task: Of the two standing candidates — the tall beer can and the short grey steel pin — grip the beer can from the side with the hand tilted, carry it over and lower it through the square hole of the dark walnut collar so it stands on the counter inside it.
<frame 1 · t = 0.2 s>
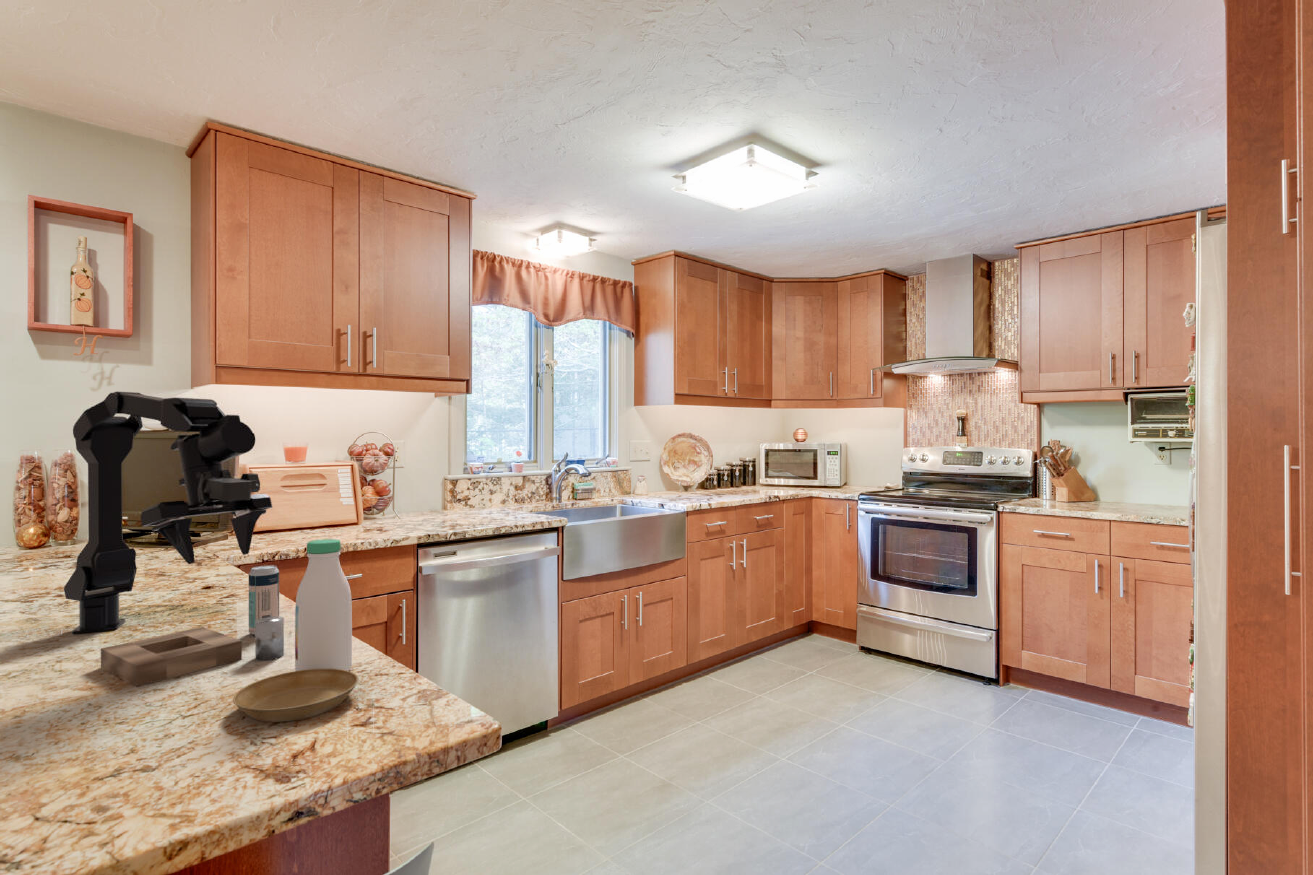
hand: (219, 558, 111), 15 cm above the counter, tool tilted 15°, fingers open, 9 cm apart
walnut collar: (172, 663, 104), on the counter
beer can: (264, 634, 121), on the counter
plant saucer: (298, 707, 88), on the counter
short steel pin: (269, 656, 108), on the counter
milk bottle: (324, 673, 100), on the counter
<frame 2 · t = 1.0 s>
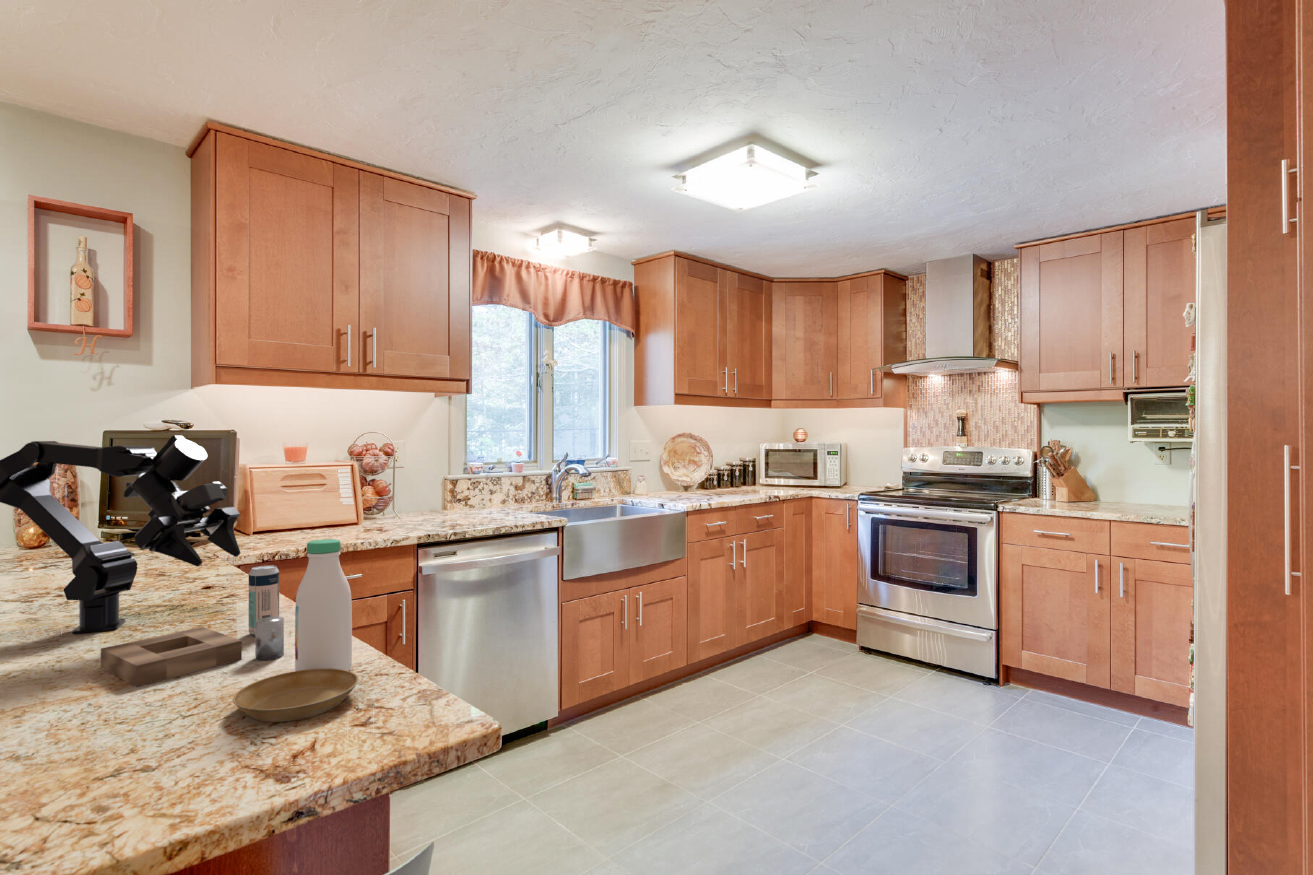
hand: (219, 559, 121), 13 cm above the counter, tool tilted 45°, fingers open, 9 cm apart
nothing on the counter moved.
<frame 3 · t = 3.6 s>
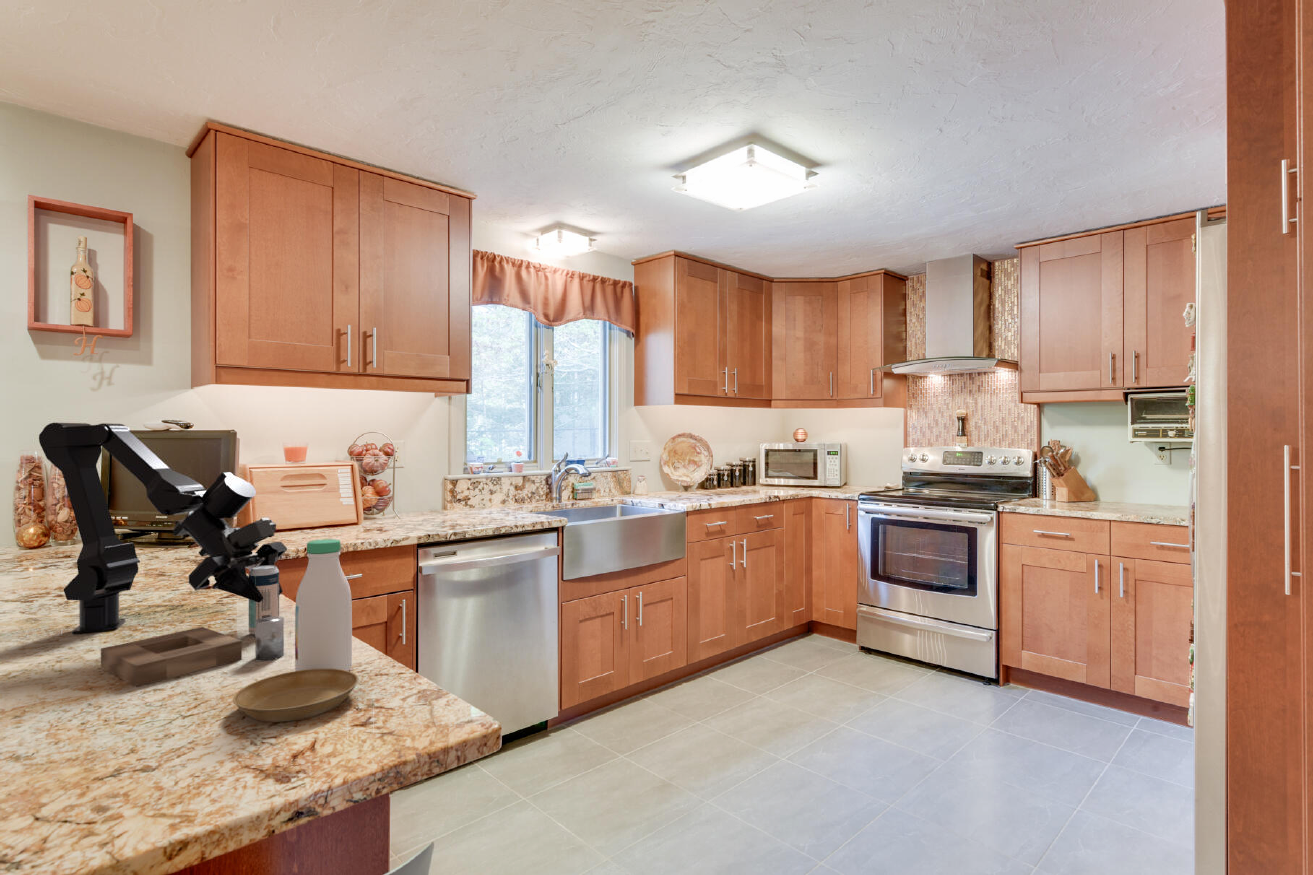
hand: (271, 597, 120), 7 cm above the counter, tool tilted 45°, fingers closed on beer can, 5 cm apart
beer can: (264, 633, 121), on the counter, touching gripper
everything else where it was.
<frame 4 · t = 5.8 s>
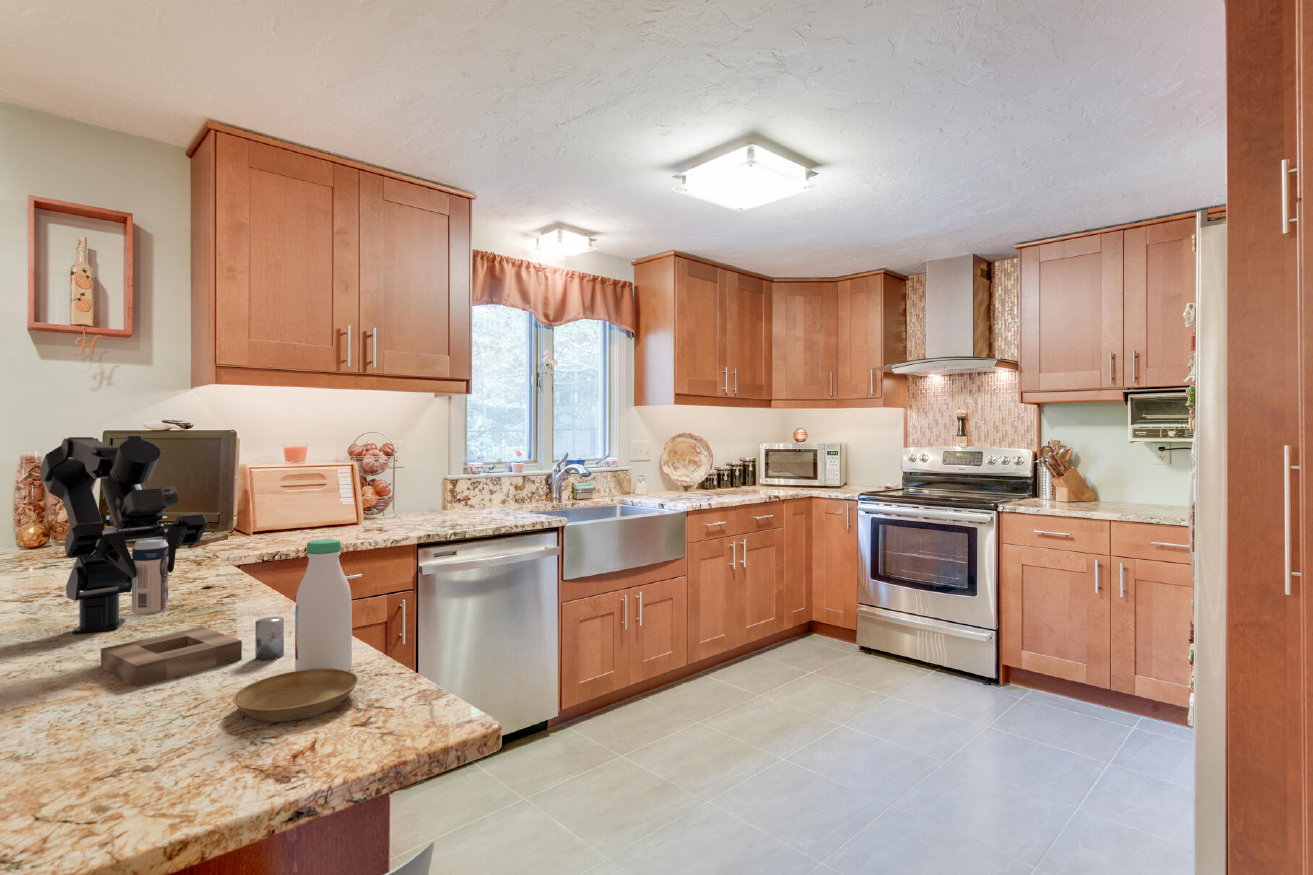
hand: (153, 573, 109), 13 cm above the counter, tool tilted 45°, fingers closed on beer can, 5 cm apart
beer can: (150, 613, 110), point 6 cm above the counter, touching gripper
everything else where it was.
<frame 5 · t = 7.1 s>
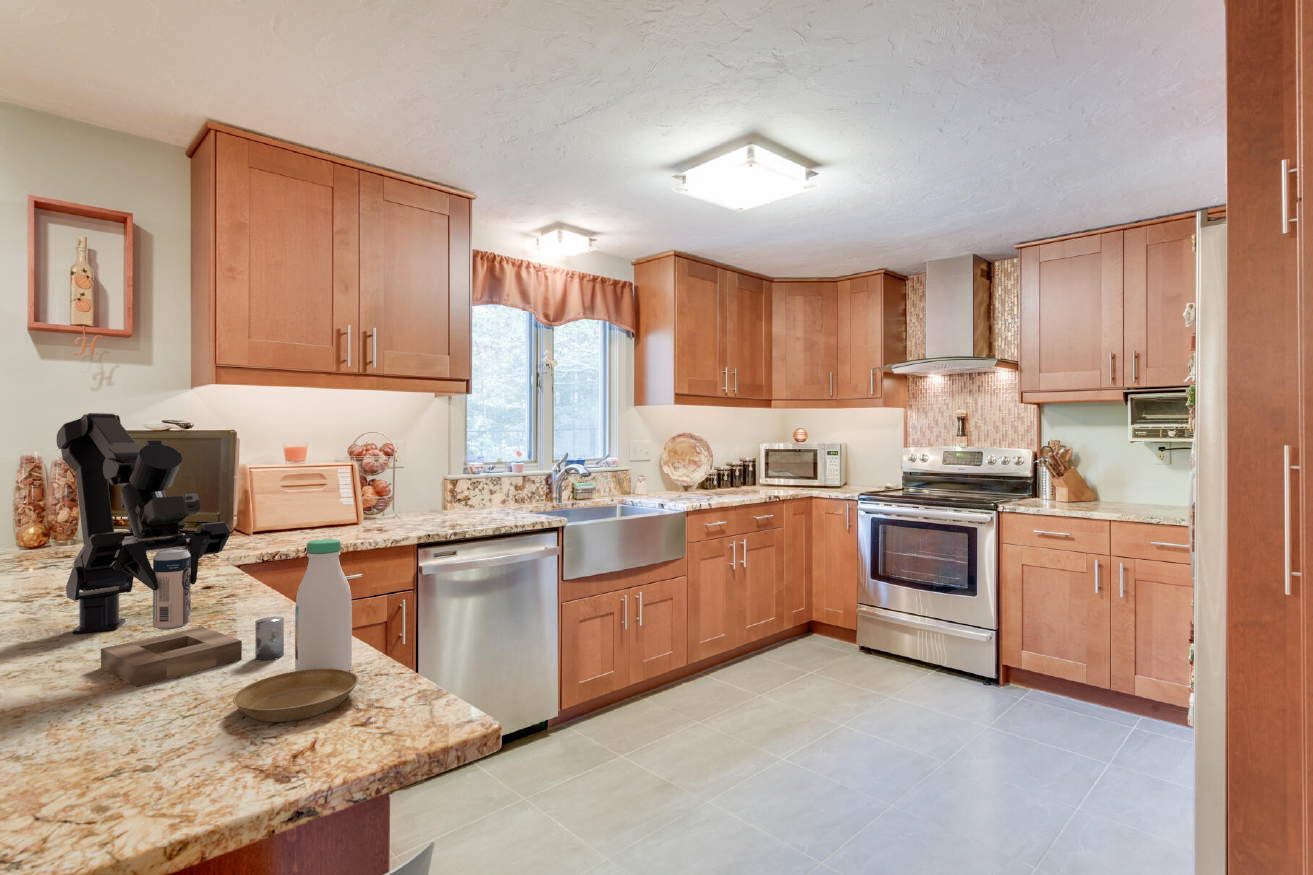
hand: (175, 585, 104), 12 cm above the counter, tool tilted 45°, fingers closed on beer can, 5 cm apart
beer can: (171, 627, 104), point 6 cm above the counter, touching gripper
everything else where it was.
when the fingers open (9 cm above the counter, at t = 8.2 s): beer can drops 2 cm, resting in walnut collar.
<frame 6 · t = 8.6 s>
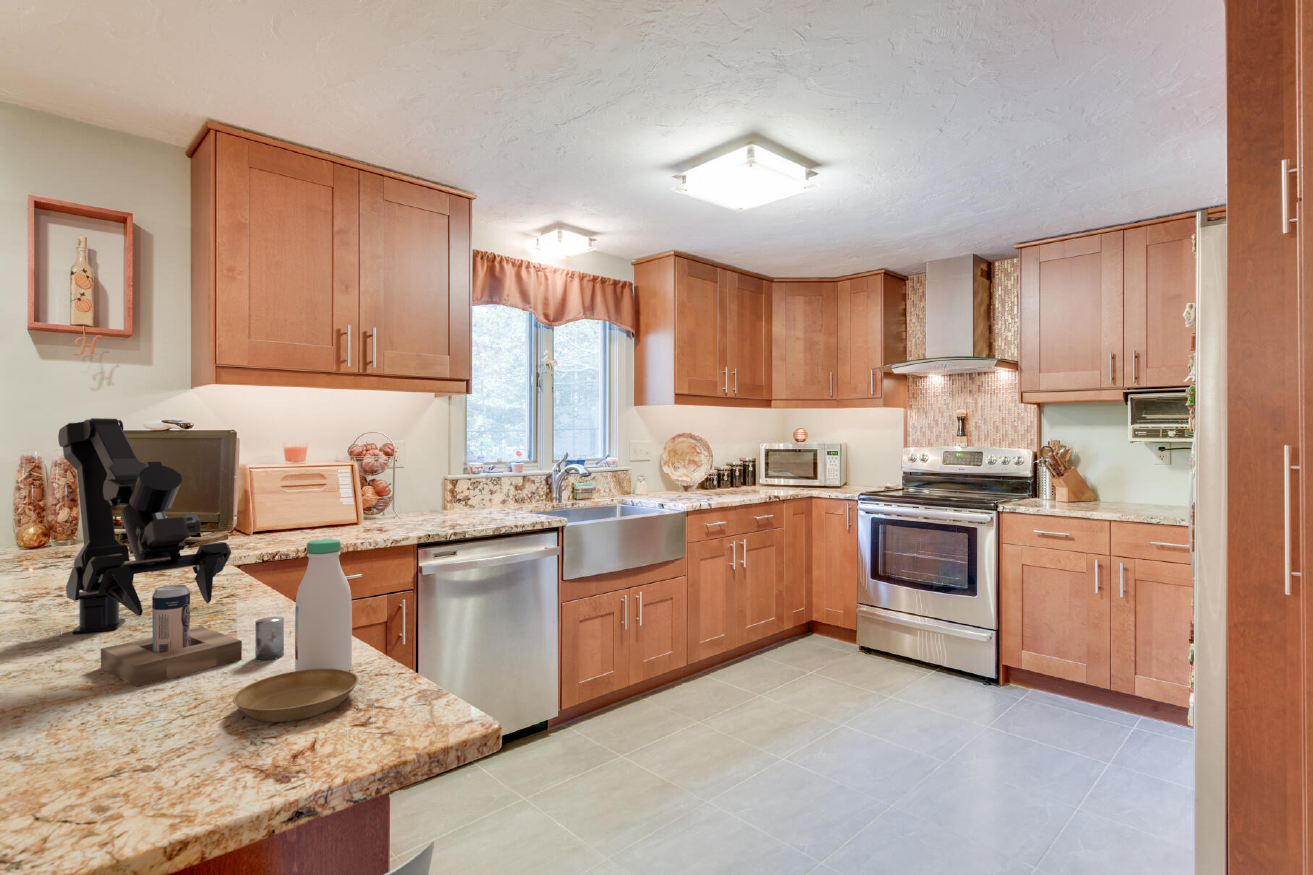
hand: (176, 607, 103), 9 cm above the counter, tool tilted 45°, fingers open, 9 cm apart
beer can: (171, 664, 104), resting in walnut collar
everything else where it was.
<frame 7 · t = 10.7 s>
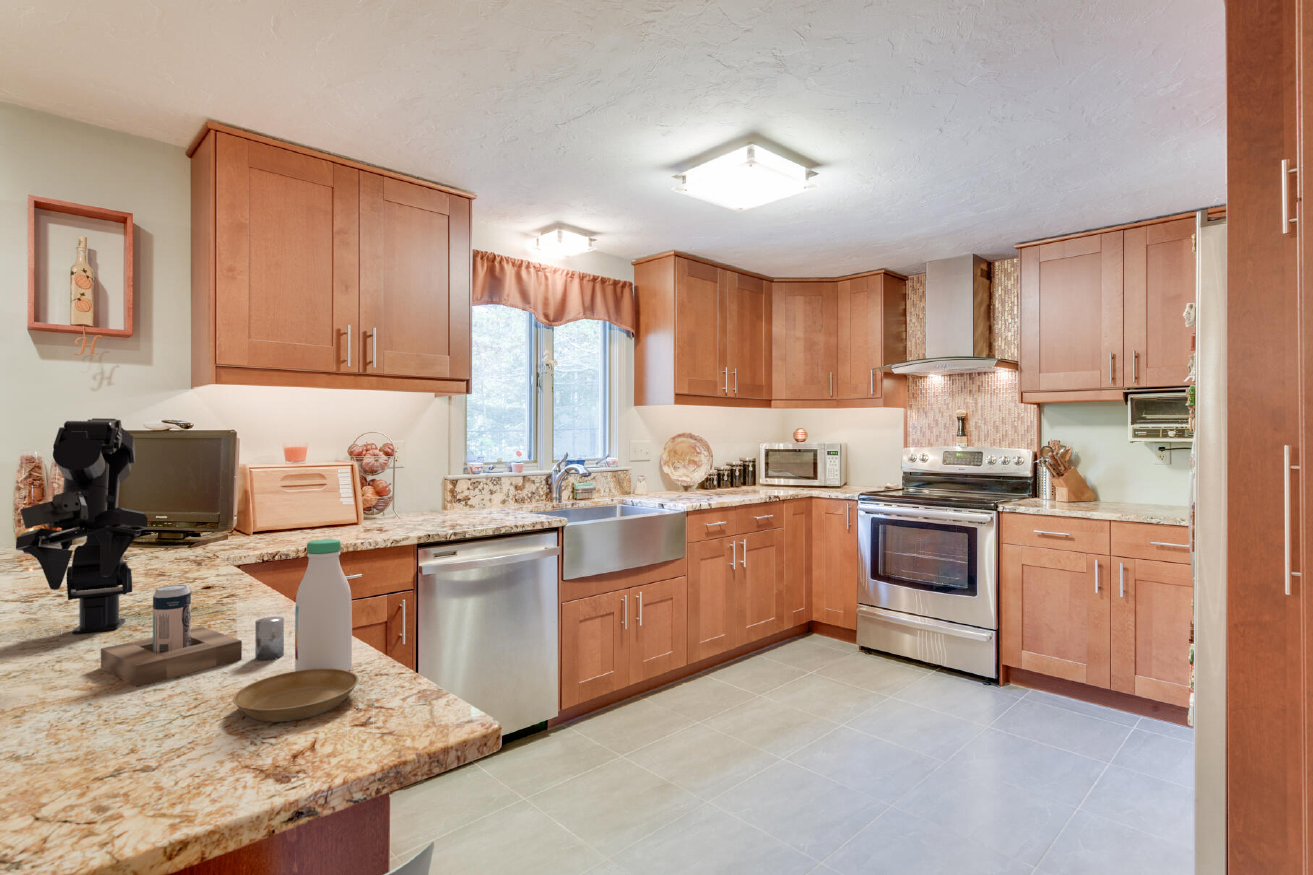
hand: (80, 582, 106), 12 cm above the counter, tool tilted 20°, fingers open, 9 cm apart
nothing on the counter moved.
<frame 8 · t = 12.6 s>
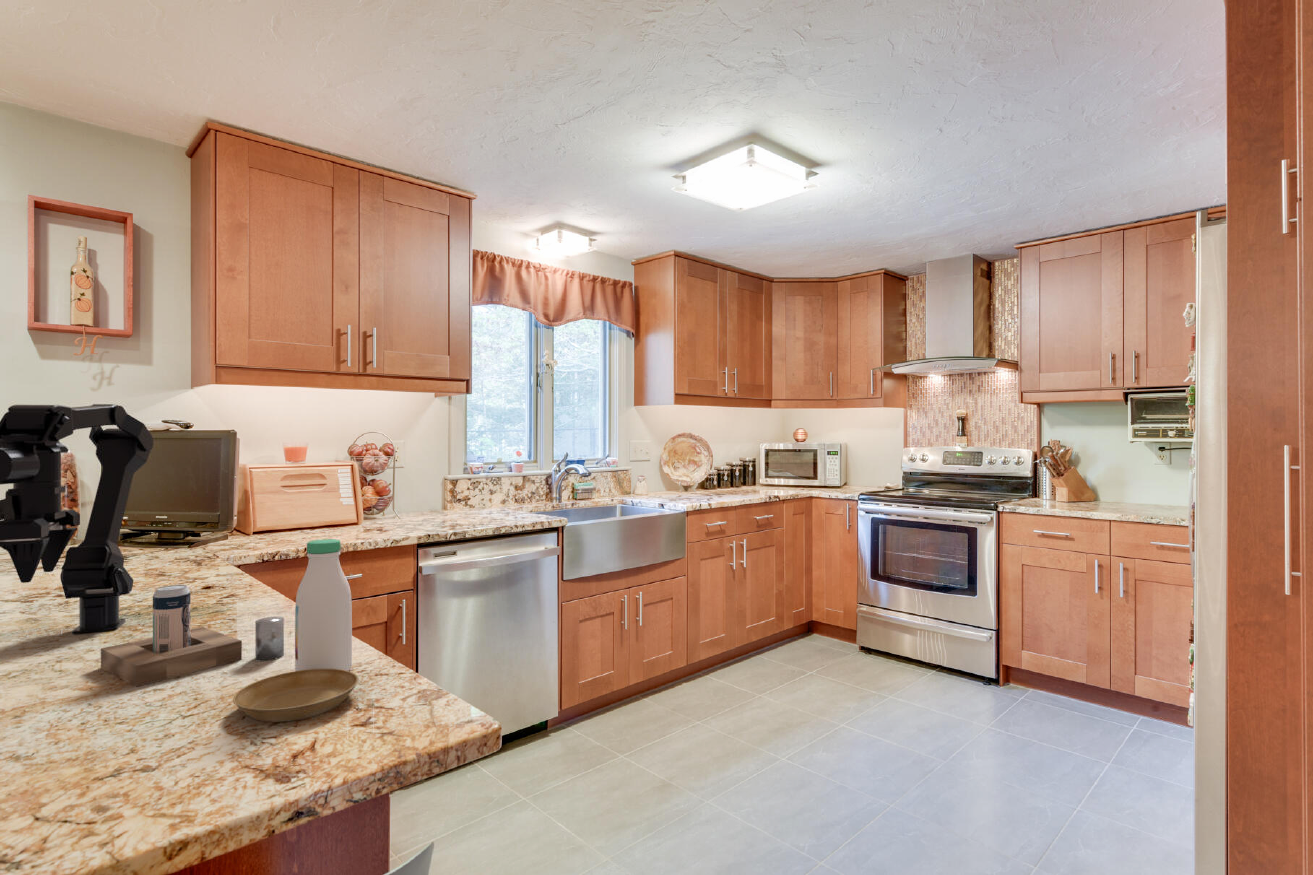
hand: (37, 576, 108), 13 cm above the counter, tool pointing down, fingers open, 9 cm apart
nothing on the counter moved.
at the end: beer can 0.2 cm from the walnut collar (horizontally); beer can tilted 0°; the gripper is holding nothing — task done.
